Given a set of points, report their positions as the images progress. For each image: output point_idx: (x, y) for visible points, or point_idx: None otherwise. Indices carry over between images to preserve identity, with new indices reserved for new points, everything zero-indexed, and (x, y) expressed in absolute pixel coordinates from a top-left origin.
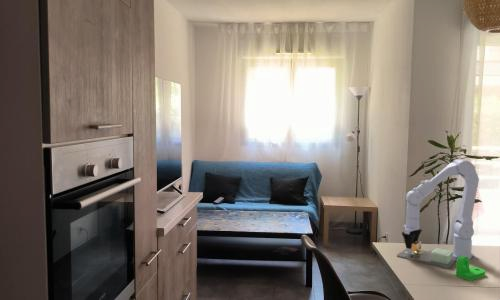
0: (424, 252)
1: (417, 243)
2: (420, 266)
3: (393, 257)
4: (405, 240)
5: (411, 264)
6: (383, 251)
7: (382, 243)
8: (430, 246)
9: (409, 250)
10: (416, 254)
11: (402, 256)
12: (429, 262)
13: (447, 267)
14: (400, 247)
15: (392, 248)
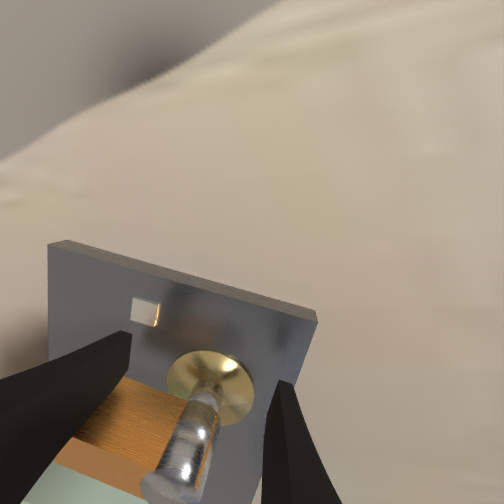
0: (226, 425)
1: (83, 473)
2: (6, 371)
3: (58, 216)
4: (23, 381)
5: (4, 329)
6: (164, 109)
7: (480, 30)
8: (496, 469)
9: (224, 332)
10: (147, 374)
11: (50, 283)
12: None
13: None
14: (371, 248)
15: (304, 179)
